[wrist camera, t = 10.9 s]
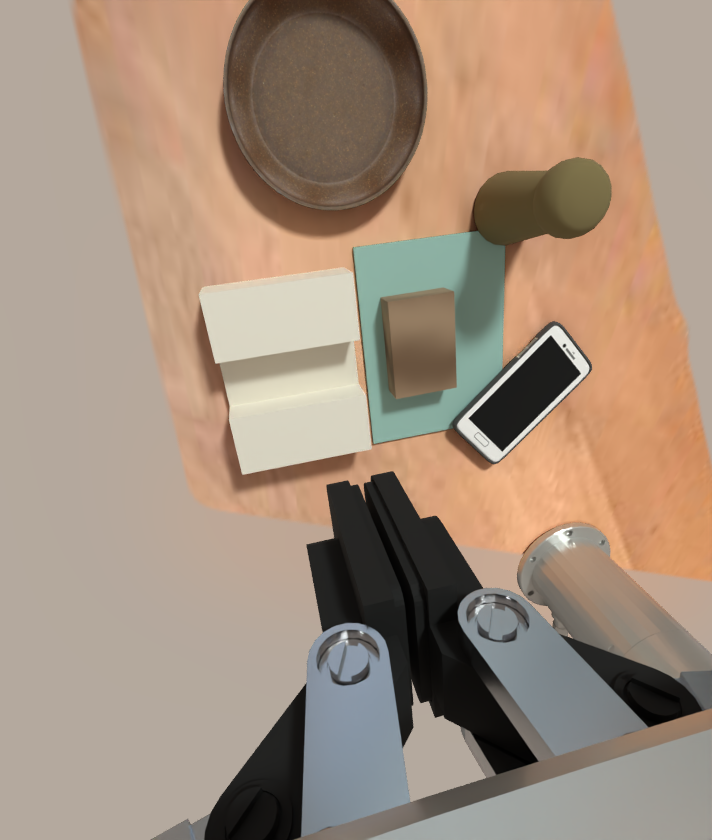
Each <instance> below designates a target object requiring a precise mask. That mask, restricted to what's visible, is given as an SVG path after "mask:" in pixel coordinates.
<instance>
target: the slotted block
mask: <svg viewBox="0 0 712 840" xmlns="http://www.w3.org/2000/svg"><path fill="white" fill-rule="evenodd" d="M199 298H200V302H201V306H202V311H203V315H204V319H205V323H206V327H207V331H208V335H209V340H210V344H211V348H212V352H213V356H214V360H215V364H216V363H220V367H221V371H222V376H223V380H224V384H225V388H226V392H227V397H228V401H229V405H230V412H229V422H230V426H231V430H232V434H233V439H234V443H235V447H236V451H237V455H238V459H239V463H240V467H241V472H242V475H244V474H249V473H254V472H259V471H264V470H269V469H274V468H279V467H284V466H289V465H294V464H299V463H304V462H309V461H314V460H319V459H324V458H329V457H334V456H340V455H345V454H350V453H355V452H360V451H365V450H370V449H372V448H371V439H370V429H369V420H368V411H367V401H366V394H365V393H364V391H363V390H362V388H361V387H360V385H359V383H358V374H357V365H356V356H355V347H354V341H357V340H360V335H359V326H358V316H357V307H356V297H355V288H354V278H353V272H351V271H349V270H347V269H346V268H344V267H342V268H335V269H328V270H320V271H313V272H306V273H299V274H292V275H285V276H277V277H270V278H263V279H256V280H249V281H242V282H235V283H227V284H220V285H213V286H206V287H202V289H201V291H200V293H199Z"/></svg>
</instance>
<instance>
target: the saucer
mask: <svg viewBox="0 0 712 840" xmlns="http://www.w3.org/2000/svg"><path fill="white" fill-rule="evenodd" d="M223 79H224V83H223V85H224V99H225V106H226V111H227V115H228V119H229V123H230V126H231V129H232V131H233V134H234V136H235V139H236V141H237V143H238V145H239V147H240V149H241V151H242V153H243V154H244V156H245V158H246V159H247V161H248V162H249V164H250V165H251V166H252V168H253V169H254V170H255V171H256V173H257V174H258V175H259V176H260V177H261V178H262V179H263V180H264V181H265V182H266V183H267V184H268V185H269V186H270V187H272V188H273V189H274V190H275V191H277V192H278V193H280V194H281V195H283V196H284V197H286V198H288V199H290V200H292V201H294V202H296V203H298V204H300V205H303V206H306V207H310V208H314V209H320V210H344V209H349V208H353V207H357V206H360V205H362V204H365V203H367V202H369V201H371V200H373V199H375V198H376V197H378V196H379V195H381V194H382V193H384V192H385V191H386V190H387V189H389V188H390V187H391V186H392V185H393V184H394V183H395V182H396V181H397V180H398V178H399V177H400V176H401V175H402V173H403V172H404V171H405V169H406V168H407V166H408V164H409V163H410V161H411V159H412V158H413V156H414V154H415V152H416V149H417V147H418V145H419V142H420V139H421V136H422V132H423V128H424V123H425V118H426V110H427V79H426V71H425V65H424V60H423V56H422V52H421V49H420V45H419V43H418V40H417V38H416V36H415V34H414V31H413V29H412V27H411V26H410V24H409V22H408V20H407V18H406V17H405V15H404V14H403V13H402V11H401V9H400V8H399V7H398V6H397V4H396V3H395V2H394V1H393V0H249V1H248V2H247V4H246V5H245V7H244V8H243V10H242V12H241V13H240V15H239V17H238V19H237V21H236V23H235V25H234V28H233V30H232V33H231V36H230V39H229V43H228V47H227V51H226V56H225V64H224V77H223Z"/></svg>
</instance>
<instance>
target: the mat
mask: <svg viewBox="0 0 712 840" xmlns="http://www.w3.org/2000/svg"><path fill="white" fill-rule="evenodd" d="M353 254H354V263H355V273H356V283H357V292H358V302H359V312H360V321H361V331H362V341H363V350H364V360H365V369H366V379H367V389H368V398H369V408H370V418H371V427H372V437H373V443H374V444H376V443H381V442H386V441H391V440H396V439H401V438H406V437H411V436H416V435H421V434H426V433H431V432H437V431H442V430H447V429H452V428H453V426H452V423H453V421H454V419H455V418H456V417H457V416H458V415H459V414H460V413H461V411H462V410H463V409H464V408H465V407H466V406H467V405H468V404H469V403H470V402H471V401H472V400H473V399H474V398H475V397H476V396H477V395H478V394H479V393H480V392H481V391H482V390H483V389H484V388H485V387H486V386H487V385H488V384H489V383H490V382H491V381H492V380H493V379H494V378H495V377H496V376H497V375H498V374H499V373H500V372H501V371H502V360H503V318H504V276H505V246H502V245H494V244H492V243H491V242H489V241H487V240H485V238H484V237H483V236H482V235H481V234H480V233H479V231H473V232H465V233H458V234H451V235H443V236H436V237H428V238H421V239H413V240H406V241H398V242H391V243H383V244H376V245H368V246H361V247H353ZM443 287H444V288H446V289H449V290H452V291H454V300H455V338H456V375H457V388H452V389H447V390H442V391H437V392H431V393H426V394H421V395H416V396H411V397H405V398H400V399H396V398H395V397H394V396H393V395H392V393H391V392H390V391H389V386H388V375H387V364H386V353H385V342H384V331H383V320H382V309H381V298H380V297H386V296H392V295H399V294H405V293H411V292H418V291H424V290H430V289H436V288H443Z"/></svg>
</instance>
